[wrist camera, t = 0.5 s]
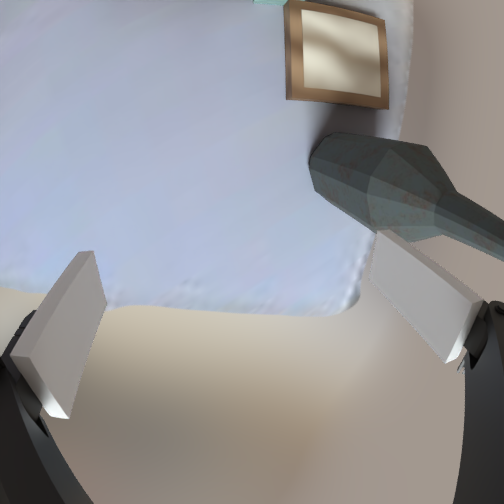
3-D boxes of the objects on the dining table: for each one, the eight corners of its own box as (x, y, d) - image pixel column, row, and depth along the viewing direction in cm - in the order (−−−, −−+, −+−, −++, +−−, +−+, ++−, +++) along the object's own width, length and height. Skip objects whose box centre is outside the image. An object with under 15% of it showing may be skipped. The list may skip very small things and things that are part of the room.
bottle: (373, 136, 37) (571, 191, 10) (368, 201, 41) (536, 310, 14) (307, 130, 35) (522, 175, 8) (305, 202, 39) (470, 347, 13)
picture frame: (283, 5, 28) (289, -2, 25) (375, 23, 30) (385, 19, 27) (285, 99, 33) (292, 98, 31) (379, 109, 35) (389, 109, 33)
